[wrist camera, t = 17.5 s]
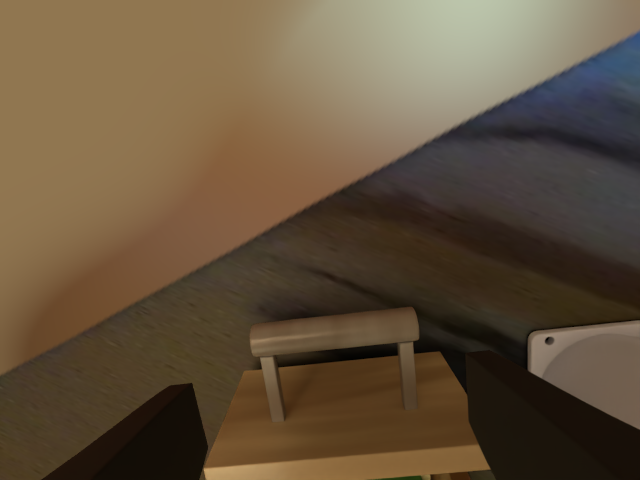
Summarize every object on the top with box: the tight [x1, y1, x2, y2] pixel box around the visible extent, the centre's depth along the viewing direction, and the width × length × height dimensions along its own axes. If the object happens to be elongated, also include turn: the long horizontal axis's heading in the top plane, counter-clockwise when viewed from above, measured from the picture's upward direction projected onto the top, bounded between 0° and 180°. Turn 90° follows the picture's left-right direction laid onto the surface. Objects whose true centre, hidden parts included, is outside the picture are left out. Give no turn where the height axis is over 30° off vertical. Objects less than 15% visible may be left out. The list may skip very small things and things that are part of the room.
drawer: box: [204, 307, 490, 480], centre depth 16 cm, size 18×11×6 cm, turn 7°
